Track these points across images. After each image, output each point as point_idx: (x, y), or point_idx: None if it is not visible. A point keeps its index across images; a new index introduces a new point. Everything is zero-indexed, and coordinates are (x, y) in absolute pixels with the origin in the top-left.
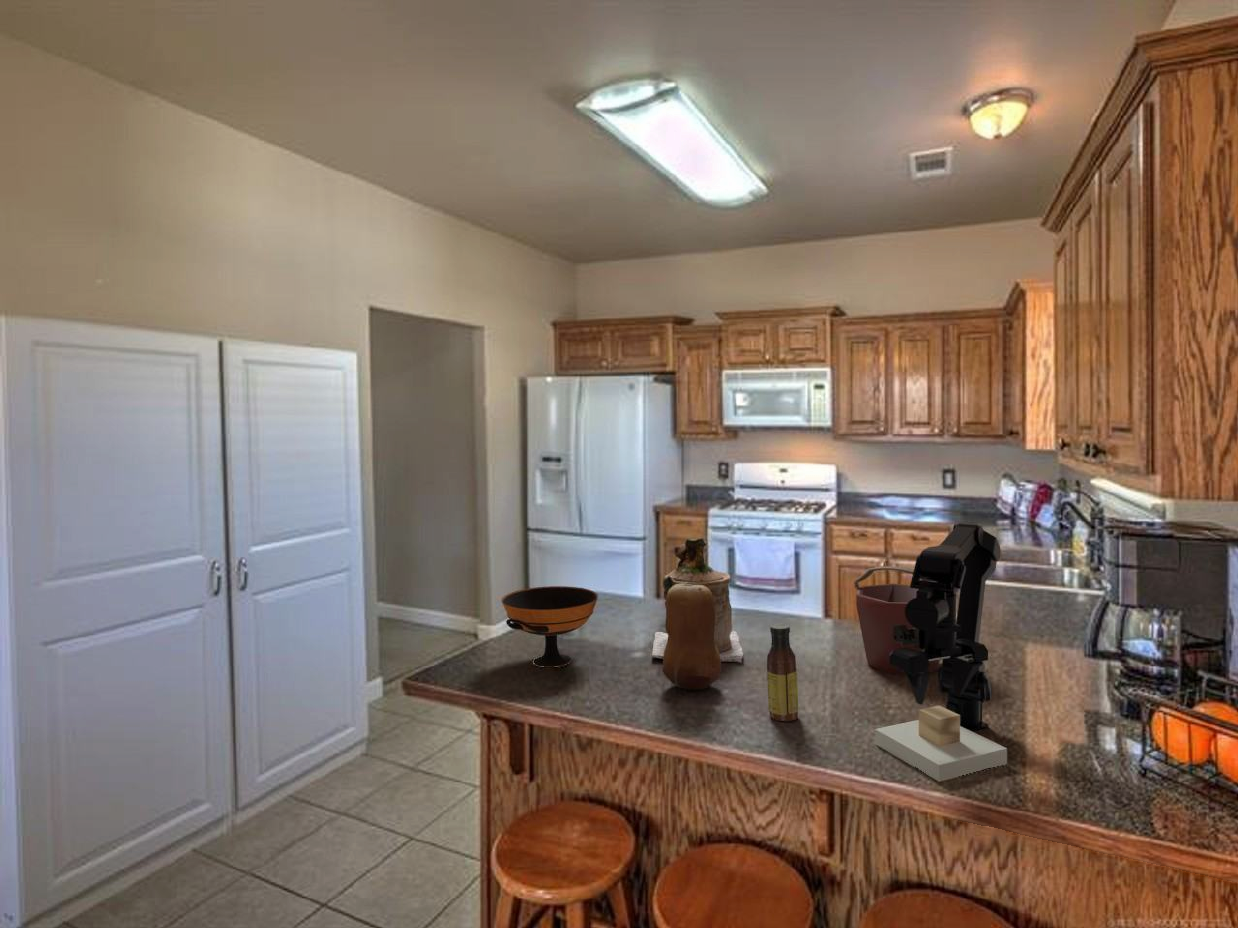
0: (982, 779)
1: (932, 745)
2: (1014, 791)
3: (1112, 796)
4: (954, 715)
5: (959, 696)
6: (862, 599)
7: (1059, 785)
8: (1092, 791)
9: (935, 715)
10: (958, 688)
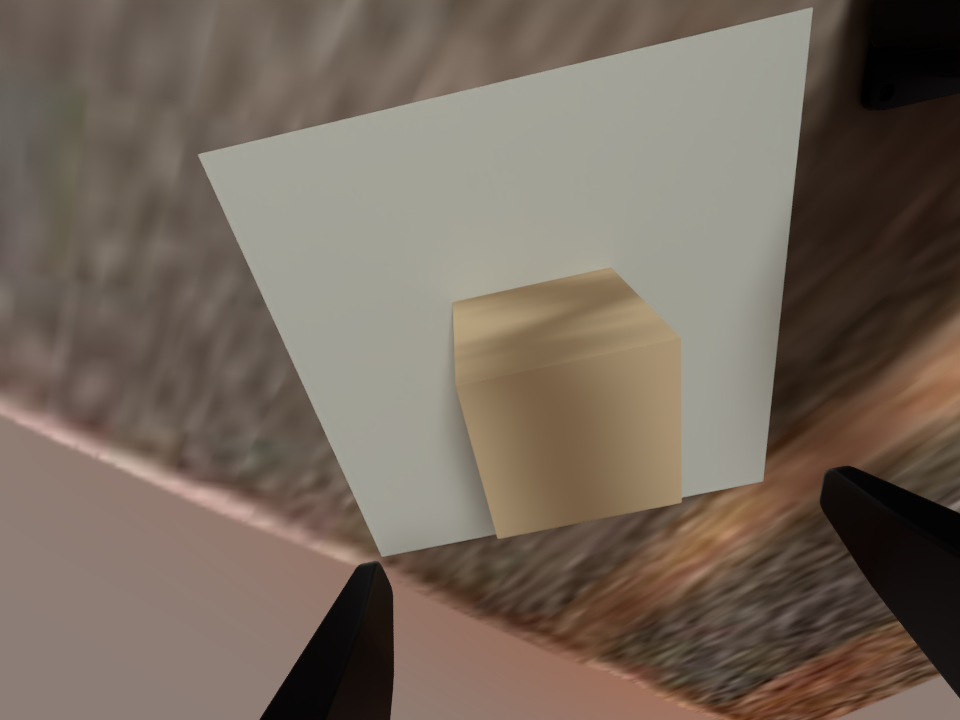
0: None
1: (456, 417)
2: (591, 567)
3: (819, 605)
4: (642, 501)
5: (826, 514)
6: None
7: (749, 555)
8: (800, 585)
9: (516, 484)
10: (886, 571)
